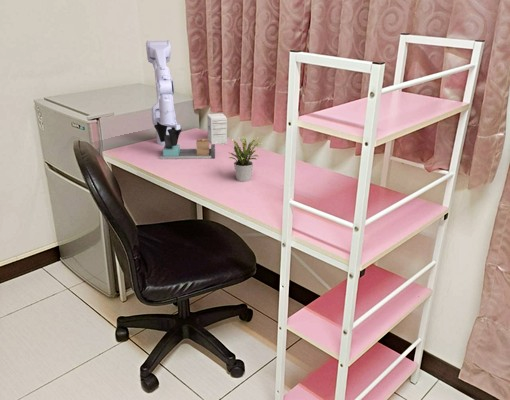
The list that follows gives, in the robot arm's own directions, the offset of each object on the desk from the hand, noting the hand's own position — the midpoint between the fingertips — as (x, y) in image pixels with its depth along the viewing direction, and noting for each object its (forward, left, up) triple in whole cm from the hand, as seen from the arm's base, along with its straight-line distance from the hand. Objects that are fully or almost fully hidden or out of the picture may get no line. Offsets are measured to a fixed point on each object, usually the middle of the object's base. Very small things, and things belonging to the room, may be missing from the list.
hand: (168, 143), depth 204 cm
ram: (0, +1, -5) cm, 5 cm away
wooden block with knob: (0, +14, -5) cm, 15 cm away
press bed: (0, +8, -6) cm, 10 cm away
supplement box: (-19, +20, -6) cm, 28 cm away
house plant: (+25, +31, -6) cm, 40 cm away
